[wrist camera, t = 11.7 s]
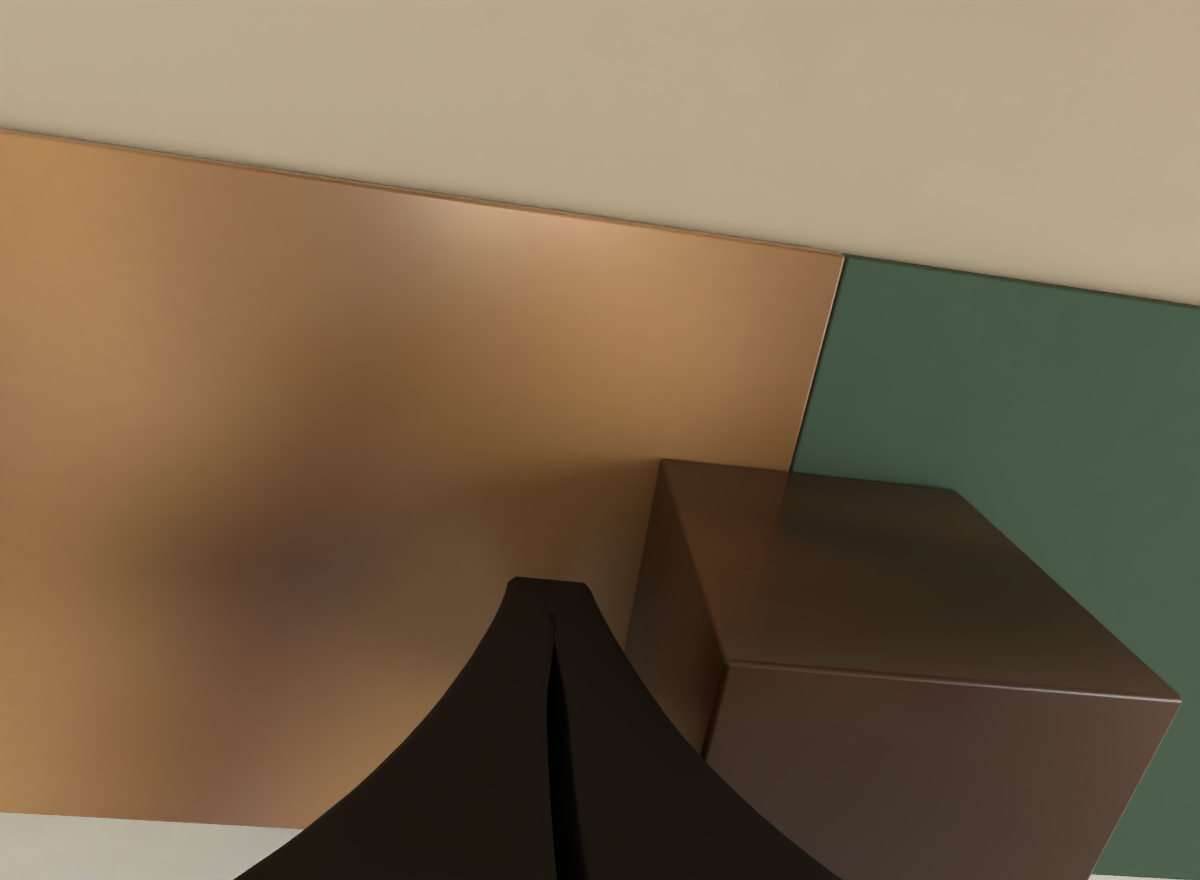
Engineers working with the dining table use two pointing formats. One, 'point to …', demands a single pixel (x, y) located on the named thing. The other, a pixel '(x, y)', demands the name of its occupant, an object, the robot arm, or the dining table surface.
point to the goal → (1043, 466)
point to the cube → (889, 676)
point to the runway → (330, 455)
